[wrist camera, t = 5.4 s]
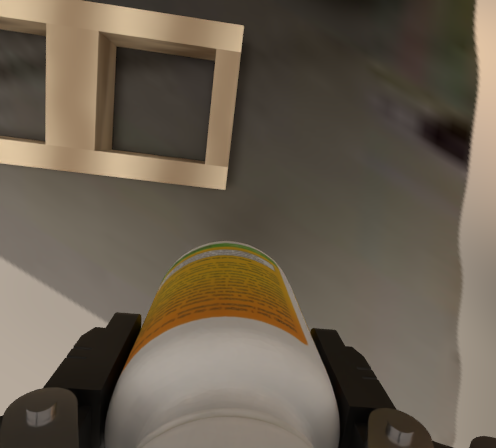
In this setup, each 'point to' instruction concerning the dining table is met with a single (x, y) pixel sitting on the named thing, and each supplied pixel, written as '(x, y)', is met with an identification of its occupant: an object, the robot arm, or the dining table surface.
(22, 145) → the bottle rack
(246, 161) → the dining table surface
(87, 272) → the dining table surface
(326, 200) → the dining table surface
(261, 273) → the supplement bottle
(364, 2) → the dining table surface
